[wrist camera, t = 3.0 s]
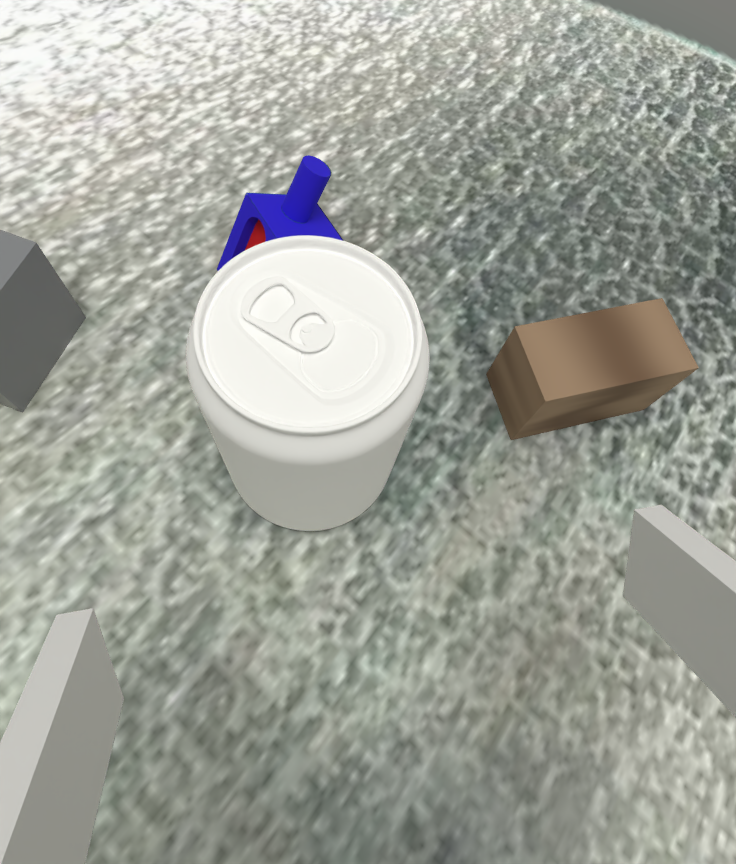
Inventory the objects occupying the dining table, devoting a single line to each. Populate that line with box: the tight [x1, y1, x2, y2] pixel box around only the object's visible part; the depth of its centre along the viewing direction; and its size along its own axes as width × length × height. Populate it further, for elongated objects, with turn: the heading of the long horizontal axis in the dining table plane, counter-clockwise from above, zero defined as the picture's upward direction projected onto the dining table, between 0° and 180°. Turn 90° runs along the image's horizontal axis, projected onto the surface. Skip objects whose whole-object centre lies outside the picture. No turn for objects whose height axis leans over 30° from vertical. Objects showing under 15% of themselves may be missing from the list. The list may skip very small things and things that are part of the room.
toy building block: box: [217, 156, 343, 271], centre depth 30 cm, size 4×4×8 cm
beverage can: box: [186, 235, 429, 531], centre depth 23 cm, size 8×8×12 cm
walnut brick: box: [486, 298, 698, 440], centre depth 29 cm, size 8×4×5 cm, turn 105°
